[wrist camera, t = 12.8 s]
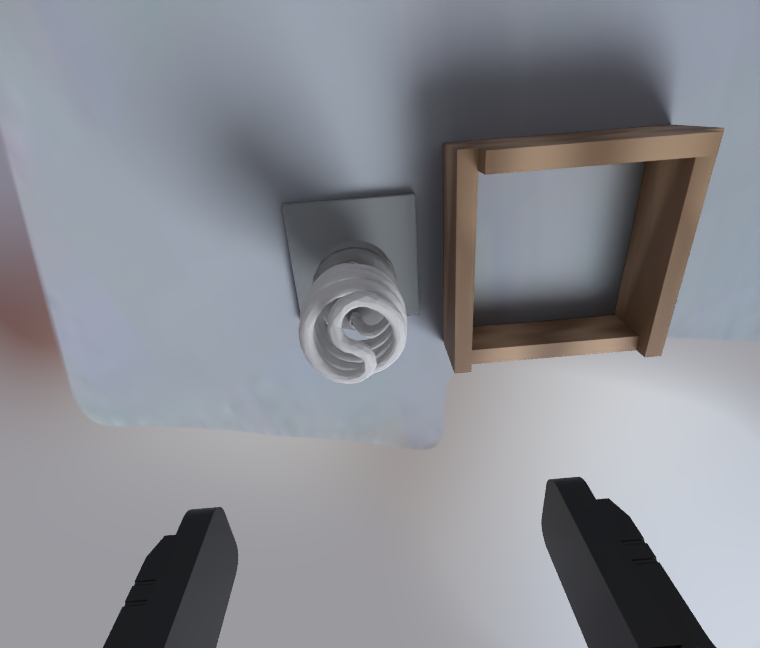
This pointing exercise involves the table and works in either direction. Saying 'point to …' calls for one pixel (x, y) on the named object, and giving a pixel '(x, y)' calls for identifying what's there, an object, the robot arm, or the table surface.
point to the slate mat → (354, 237)
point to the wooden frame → (644, 256)
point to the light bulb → (353, 314)
